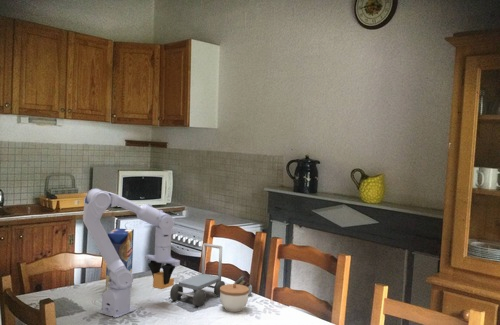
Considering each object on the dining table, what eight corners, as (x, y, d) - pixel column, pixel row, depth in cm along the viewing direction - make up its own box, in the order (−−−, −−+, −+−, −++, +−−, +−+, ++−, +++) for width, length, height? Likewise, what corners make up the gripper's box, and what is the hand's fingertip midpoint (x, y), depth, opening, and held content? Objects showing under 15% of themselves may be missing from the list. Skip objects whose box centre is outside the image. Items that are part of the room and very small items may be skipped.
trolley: (195, 308, 172) (198, 254, 171) (169, 301, 178) (172, 250, 177) (224, 294, 189) (227, 246, 189) (200, 288, 195) (202, 241, 195)
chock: (161, 289, 170) (162, 275, 170) (152, 287, 172) (153, 273, 172) (173, 285, 176) (174, 271, 176) (165, 283, 178) (165, 270, 178)
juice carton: (124, 296, 181) (127, 234, 180) (105, 295, 181) (107, 233, 180) (131, 287, 193) (133, 229, 192) (113, 286, 193) (115, 228, 192)
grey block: (235, 303, 182) (254, 278, 187) (222, 294, 186) (241, 270, 191) (241, 313, 189) (259, 289, 194) (228, 304, 193) (246, 281, 198)
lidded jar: (244, 315, 167) (245, 289, 166) (215, 312, 169) (216, 286, 168) (250, 306, 177) (251, 281, 177) (223, 302, 179) (224, 278, 179)
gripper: (185, 246, 172) (184, 283, 173) (154, 241, 179) (153, 276, 180) (173, 250, 166) (172, 288, 167) (141, 244, 173) (140, 281, 173)
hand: (161, 282), depth 173 cm, fingers closed on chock, 4 cm apart
